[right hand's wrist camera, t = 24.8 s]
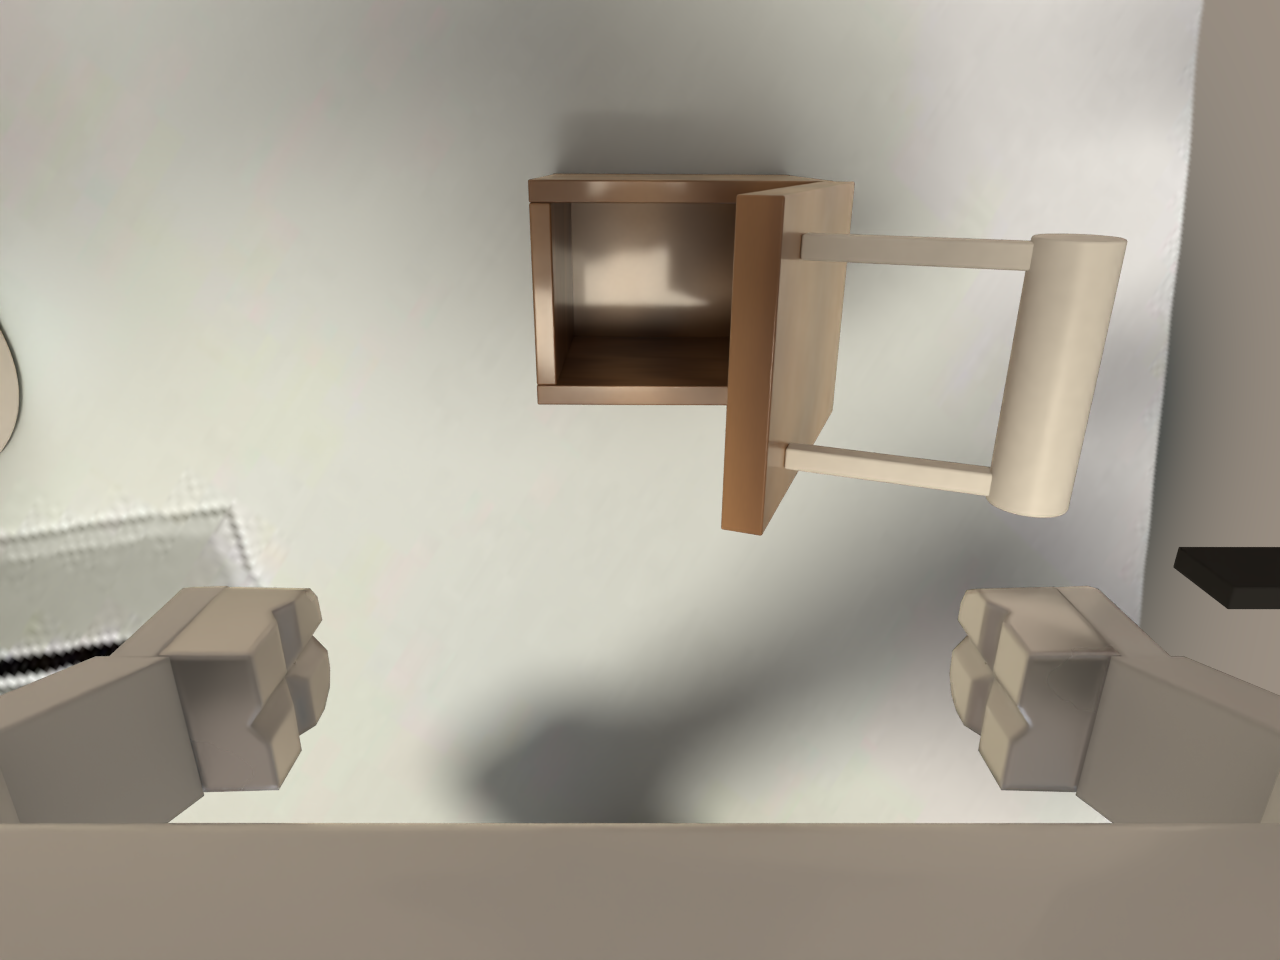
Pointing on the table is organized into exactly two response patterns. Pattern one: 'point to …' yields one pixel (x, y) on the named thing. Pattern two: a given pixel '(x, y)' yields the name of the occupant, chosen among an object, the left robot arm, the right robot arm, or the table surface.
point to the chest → (635, 285)
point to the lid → (809, 341)
